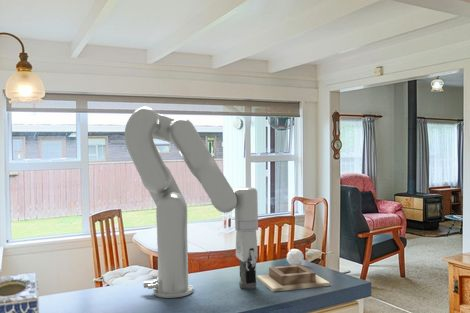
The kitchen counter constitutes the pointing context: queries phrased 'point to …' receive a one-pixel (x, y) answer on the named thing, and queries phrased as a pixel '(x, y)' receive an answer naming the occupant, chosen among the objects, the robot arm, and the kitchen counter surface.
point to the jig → (291, 278)
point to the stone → (243, 276)
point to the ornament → (295, 257)
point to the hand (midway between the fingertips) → (247, 279)
